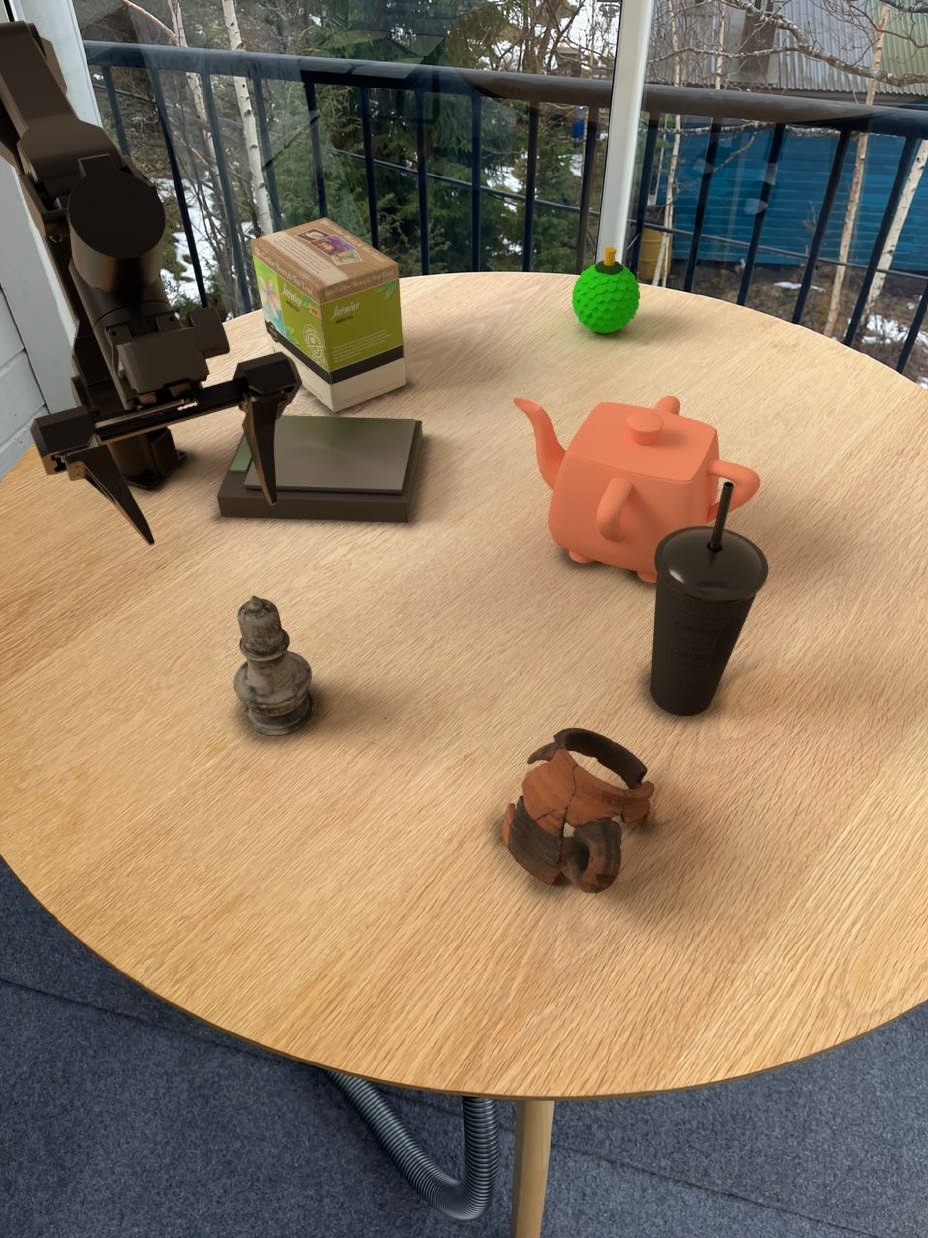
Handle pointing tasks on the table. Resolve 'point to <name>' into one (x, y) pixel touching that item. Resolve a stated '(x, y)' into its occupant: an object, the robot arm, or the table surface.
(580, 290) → the ornament
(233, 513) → the scale
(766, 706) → the table surface
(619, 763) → the pottery mug
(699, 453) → the teapot
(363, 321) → the tea box
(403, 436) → the scale pan
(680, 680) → the drinking cup
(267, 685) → the chess piece
